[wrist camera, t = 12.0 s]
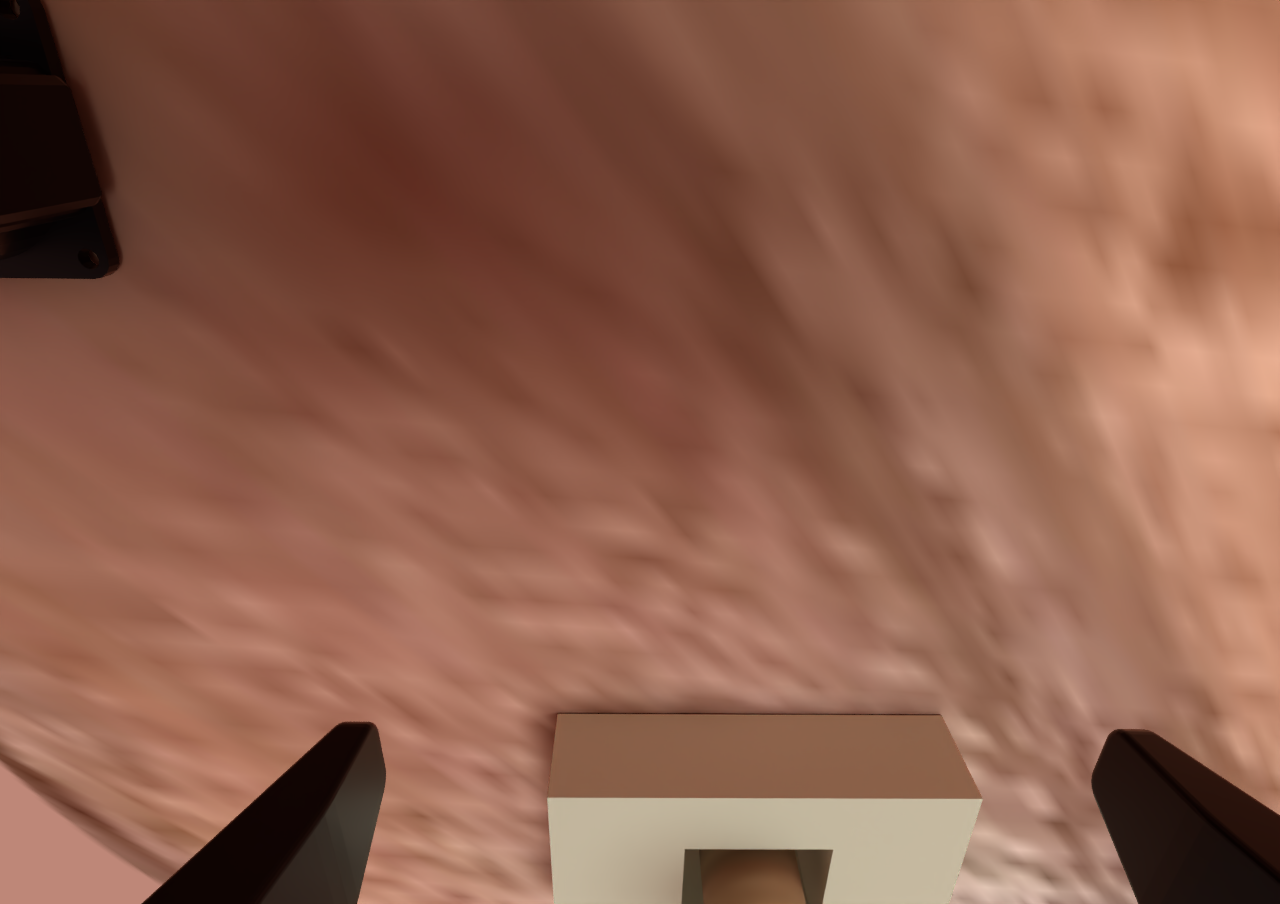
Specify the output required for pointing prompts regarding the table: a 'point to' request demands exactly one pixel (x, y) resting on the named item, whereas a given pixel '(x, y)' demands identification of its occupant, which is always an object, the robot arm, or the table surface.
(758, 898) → the peg
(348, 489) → the table surface
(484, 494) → the table surface
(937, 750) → the socket block
